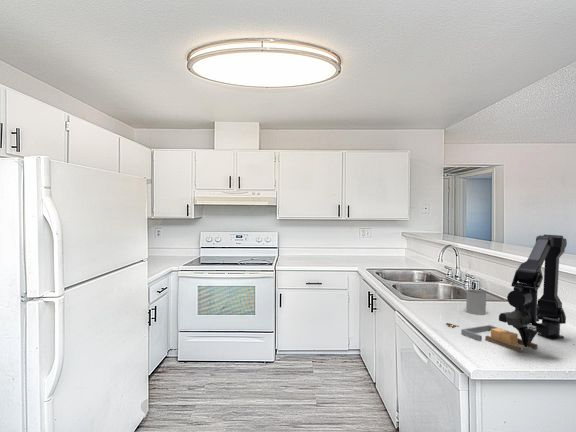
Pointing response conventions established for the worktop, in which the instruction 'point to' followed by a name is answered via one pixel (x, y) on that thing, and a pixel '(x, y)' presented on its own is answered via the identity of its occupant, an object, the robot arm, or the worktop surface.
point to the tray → (472, 331)
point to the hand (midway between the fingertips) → (526, 346)
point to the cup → (476, 302)
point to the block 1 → (496, 333)
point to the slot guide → (510, 346)
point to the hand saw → (450, 325)
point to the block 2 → (509, 337)
